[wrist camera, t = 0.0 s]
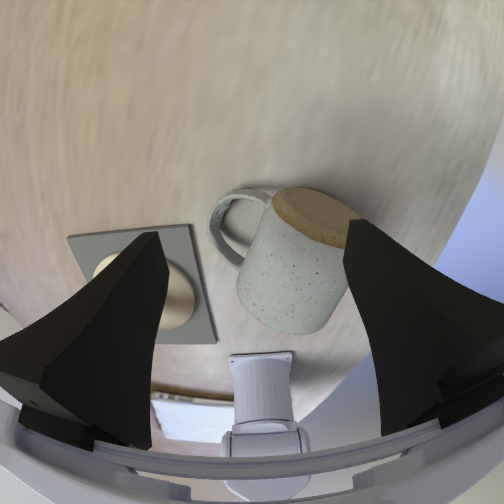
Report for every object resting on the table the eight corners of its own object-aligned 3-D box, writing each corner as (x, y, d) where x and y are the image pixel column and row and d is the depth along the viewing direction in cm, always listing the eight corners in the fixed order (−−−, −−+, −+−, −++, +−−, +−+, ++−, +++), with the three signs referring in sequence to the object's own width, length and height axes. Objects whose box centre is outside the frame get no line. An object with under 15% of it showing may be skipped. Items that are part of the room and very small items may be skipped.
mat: (216, 341, 31) (216, 344, 31) (124, 339, 31) (123, 342, 31) (188, 223, 21) (188, 226, 21) (68, 236, 21) (66, 238, 21)
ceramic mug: (356, 196, 20) (397, 259, 14) (317, 273, 25) (335, 343, 19) (221, 159, 19) (208, 214, 12) (201, 250, 23) (188, 323, 17)
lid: (203, 324, 29) (200, 358, 25) (117, 324, 29) (108, 353, 25) (182, 245, 22) (173, 281, 19) (79, 253, 22) (61, 284, 19)
